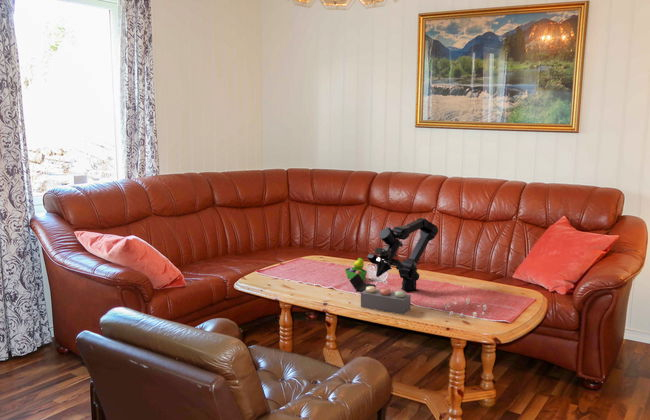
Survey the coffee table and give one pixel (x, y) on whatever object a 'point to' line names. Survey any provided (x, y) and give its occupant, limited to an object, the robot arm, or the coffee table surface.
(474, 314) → the game piece set
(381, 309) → the button panel
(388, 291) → the red button
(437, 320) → the coffee table surface
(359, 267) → the fruit basket
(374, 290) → the cream button
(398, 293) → the green button
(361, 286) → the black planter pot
